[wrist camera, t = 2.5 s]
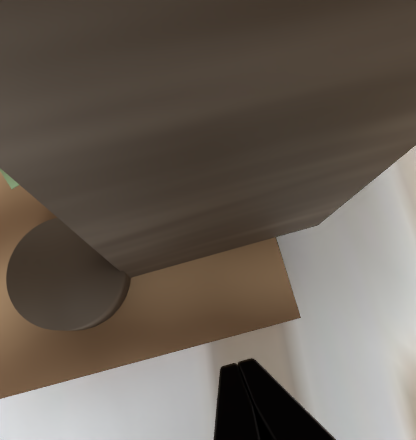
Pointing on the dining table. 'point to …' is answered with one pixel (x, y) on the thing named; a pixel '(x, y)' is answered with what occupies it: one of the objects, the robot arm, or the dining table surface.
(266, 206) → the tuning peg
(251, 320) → the dial plate
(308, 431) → the robot arm
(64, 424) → the dining table surface
